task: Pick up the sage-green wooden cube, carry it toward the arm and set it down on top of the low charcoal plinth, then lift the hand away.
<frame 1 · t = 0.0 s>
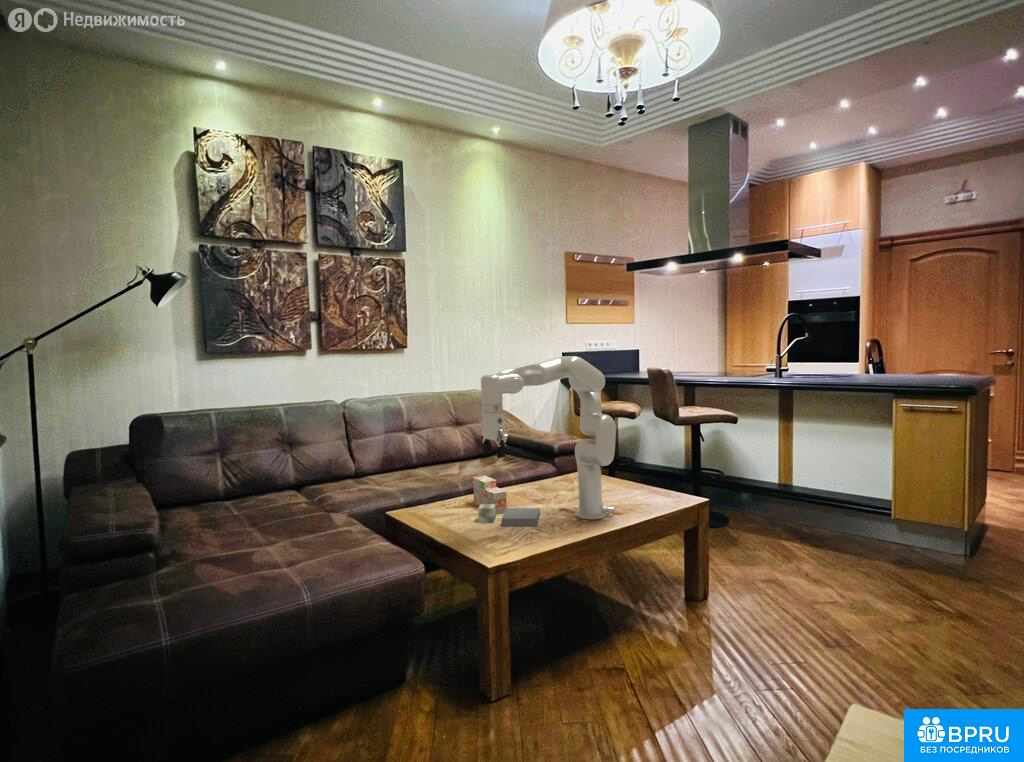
hand: (494, 455, 200), 31 cm above the table, tool pointing down, fingers open, 9 cm apart
sage cube: (487, 520, 224), on the table
stack of blocks: (489, 508, 242), on the table
plinth: (521, 520, 223), on the table
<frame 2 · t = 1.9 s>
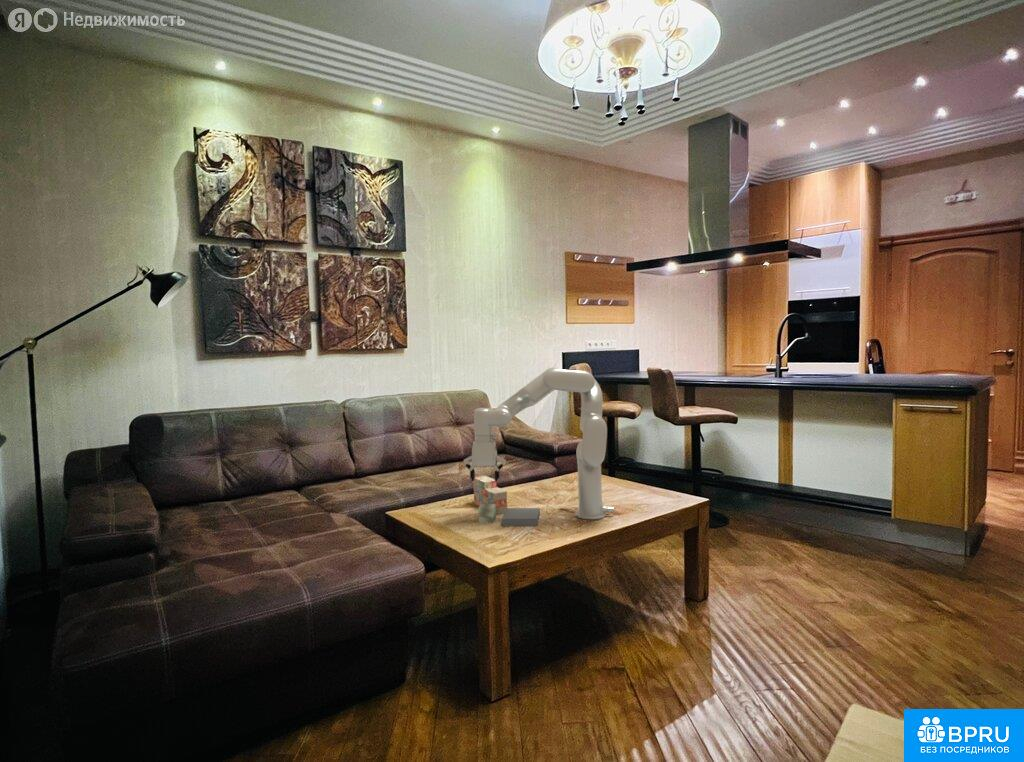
hand: (484, 480, 223), 17 cm above the table, tool pointing down, fingers open, 9 cm apart
nothing on the table moved.
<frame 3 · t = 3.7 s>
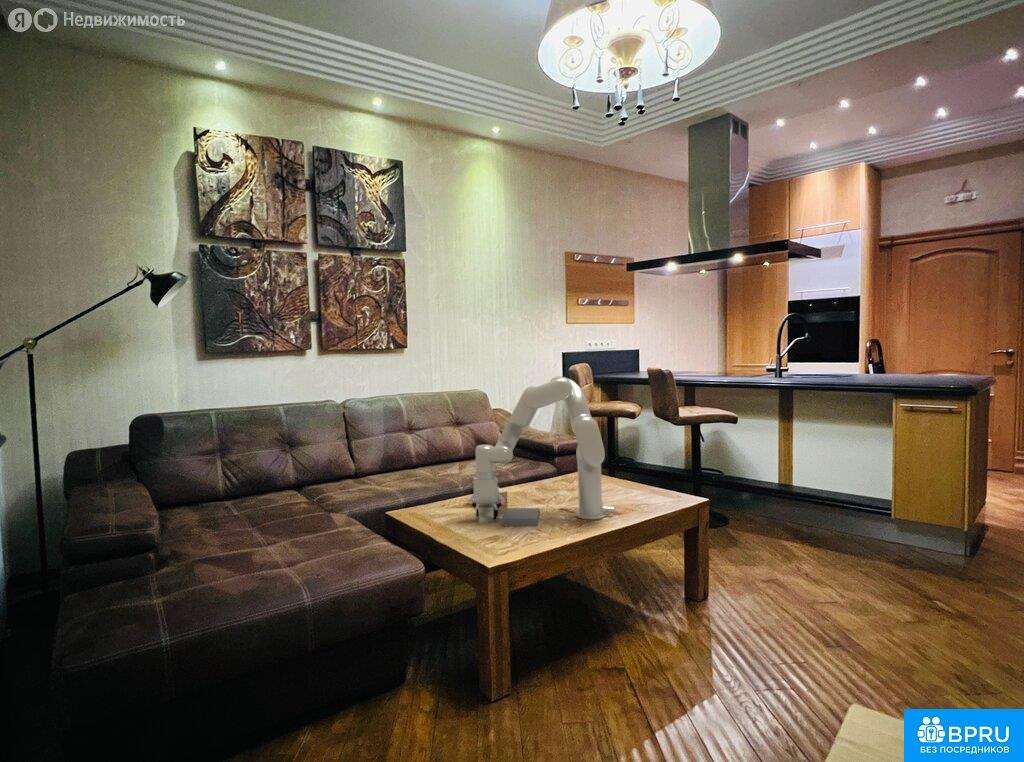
hand: (487, 518, 224), 1 cm above the table, tool pointing down, fingers closed on sage cube, 6 cm apart
sage cube: (487, 520, 224), on the table, touching gripper
everything else where it was.
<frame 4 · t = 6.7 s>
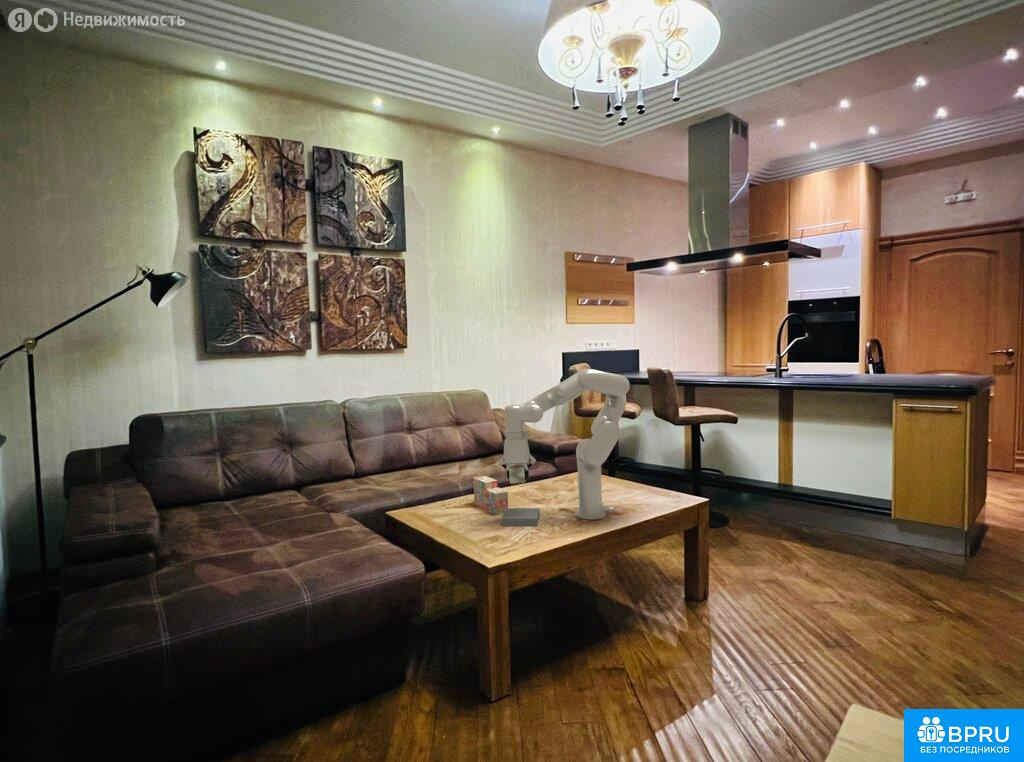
hand: (518, 479, 222), 17 cm above the table, tool pointing down, fingers closed on sage cube, 6 cm apart
sage cube: (518, 481, 222), point 16 cm above the table, touching gripper
everything else where it was.
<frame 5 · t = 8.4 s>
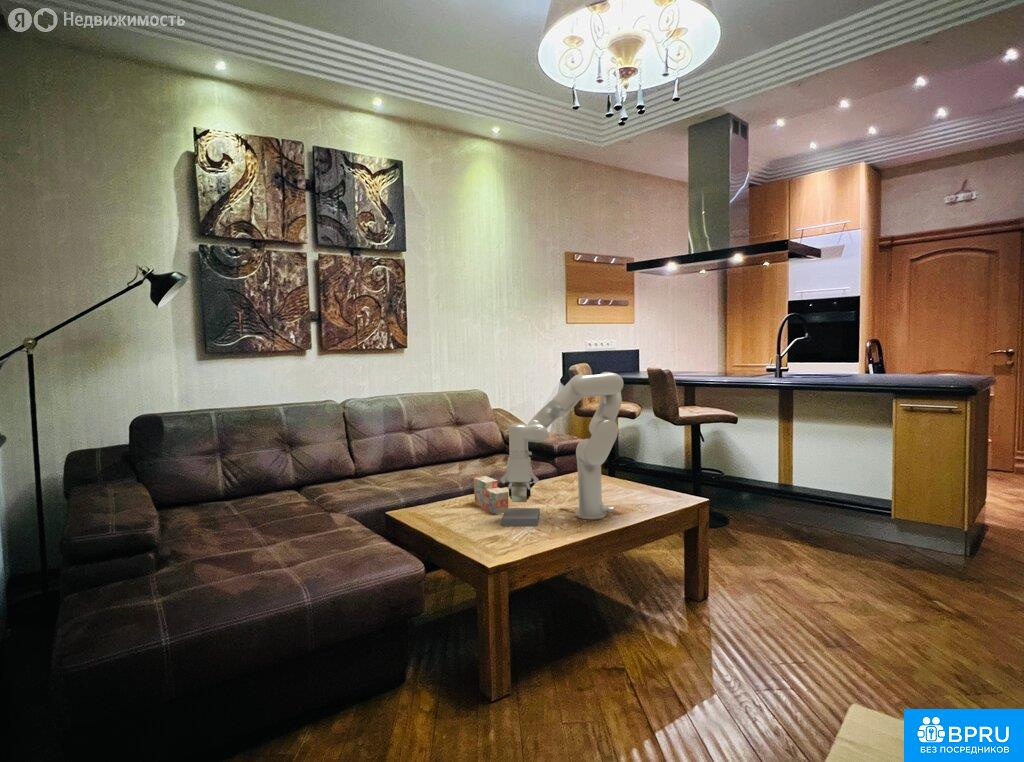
hand: (519, 497, 222), 9 cm above the table, tool pointing down, fingers closed on sage cube, 6 cm apart
sage cube: (519, 500, 222), point 8 cm above the table, touching gripper
everything else where it was.
when the fingers open (5 cm above the table, at t = 9.7 s): sage cube drops 1 cm, resting on plinth.
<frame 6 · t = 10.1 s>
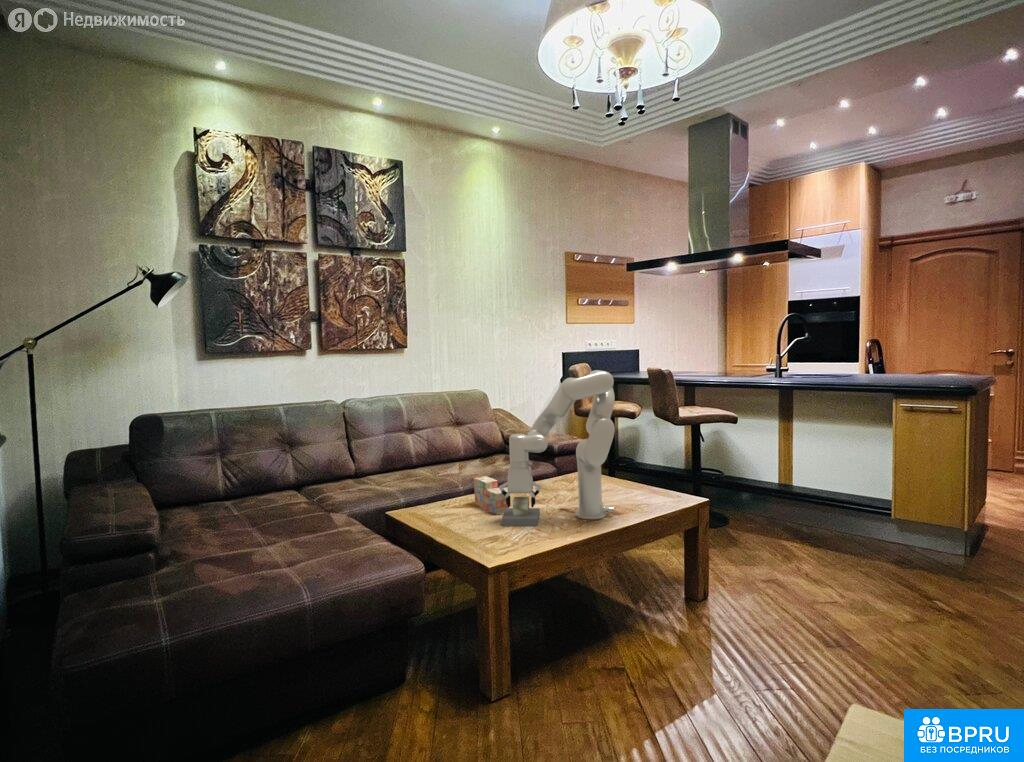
hand: (520, 506, 222), 6 cm above the table, tool pointing down, fingers open, 9 cm apart
sage cube: (521, 513, 222), point 3 cm above the table, touching plinth
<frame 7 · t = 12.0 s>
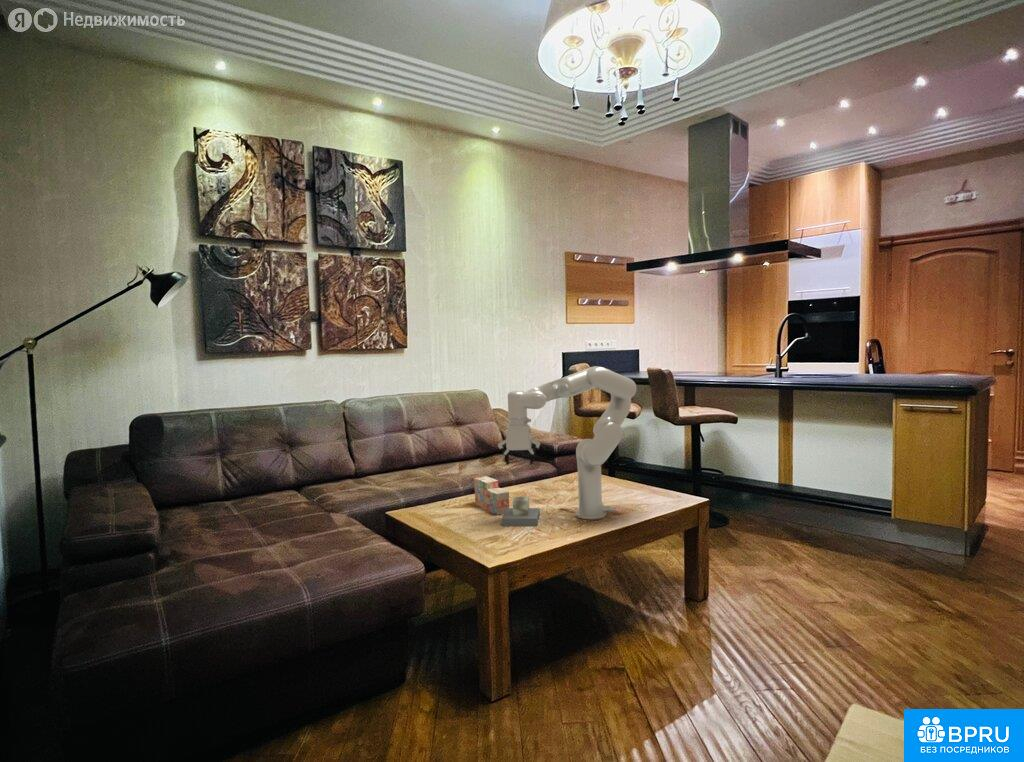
hand: (519, 463, 221), 23 cm above the table, tool pointing down, fingers open, 9 cm apart
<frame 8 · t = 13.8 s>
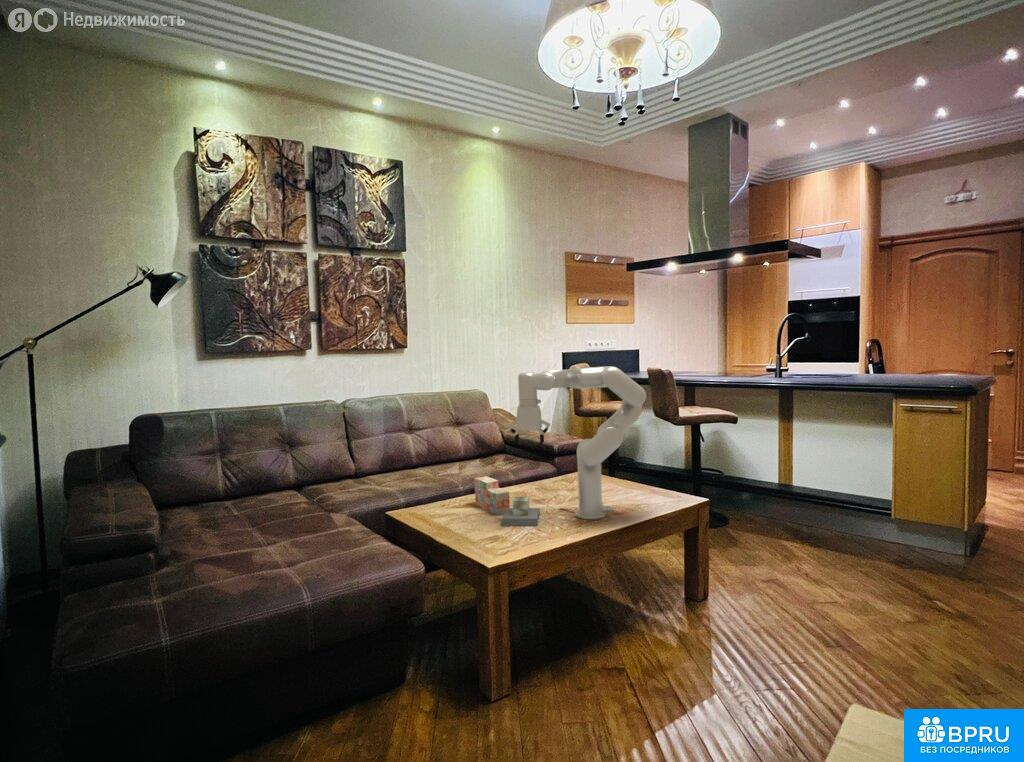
hand: (529, 444, 225), 30 cm above the table, tool pointing down, fingers open, 9 cm apart
at the end: sage cube inside the target area on the plinth (0.1 cm from its centre), point 3.0 cm above the plinth's base; sage cube tilted 0°; the gripper is holding nothing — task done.
